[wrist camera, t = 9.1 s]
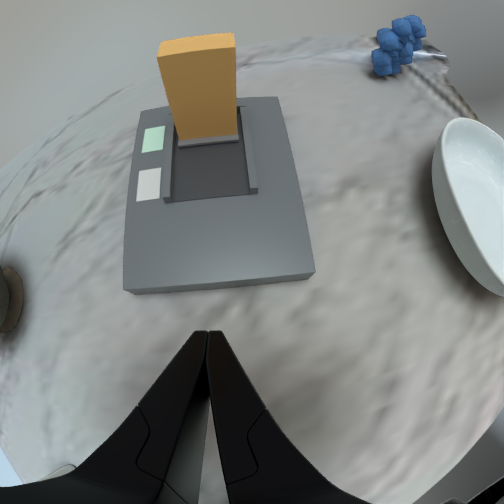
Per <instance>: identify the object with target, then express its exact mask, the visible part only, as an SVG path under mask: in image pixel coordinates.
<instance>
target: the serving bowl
mask: <svg viewBox="0 0 504 504" xmlns="http://www.w3.org/2000/svg"><path fill="white" fill-rule="evenodd" d="M432 183H433V191H434V197H435V202H436V206H437V210H438V213H439V216H440V219H441V222H442V225H443V227H444V230H445V232H446V235H447V237H448V239H449V241H450V243H451V245H452V247H453V249H454V251H455V253H456V254H457V256H458V258H459V259H460V261H461V262H462V264H463V265H464V266H465V268H466V269H467V270H468V271H469V273H470V274H471V275H472V276H473V277H474V278H475V279H476V280H477V281H478V282H479V283H480V284H481V285H482V286H483V287H485V288H486V289H488V290H489V291H491V292H493V293H494V294H497V295H499V296H502V297H504V140H503V139H502V138H501V137H500V136H499V135H498V134H496V133H495V132H494V131H493V130H491V129H490V128H488V127H487V126H485V125H483V124H481V123H480V122H477V121H475V120H472V119H468V118H455V119H452V120H451V121H449V122H448V123H447V124H446V125H445V127H444V128H443V130H442V132H441V134H440V136H439V138H438V141H437V144H436V146H435V150H434V154H433V160H432Z"/></svg>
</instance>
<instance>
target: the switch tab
mask: <svg viewBox="0 0 504 504" xmlns="http://www.w3.org/2000/svg"><path fill="white" fill-rule="evenodd" d="M157 60H158V64H159V68H160V72H161V76H162V80H163V84H164V87H165V91H166V95H167V98H168V102H169V106H170V109H171V113H172V116H173V120H174V123H175V127H176V130H177V134H178V137H179V139H178V147H179V148H183V147H190V146H198V145H207V144H217V143H227V142H239V136H238V127H237V107H236V51H235V41H234V35H233V33H221V34H210V35H201V36H193V37H186V38H180V39H173V40H168V41H163V42H161V45H160V48H159V52H158V55H157Z"/></svg>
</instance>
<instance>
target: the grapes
mask: <svg viewBox="0 0 504 504" xmlns="http://www.w3.org/2000/svg"><path fill="white" fill-rule="evenodd" d="M423 37H426V29H425V26H424V25H423V24H422V21H421V19H420V18H419V17H417V16H415V15H409V16H406V17H404V18H399V19H396V20H393V21H392V29H389V28H382V29H380V30H378V31H377V39H378V41H379V44H380V48H379V49H375V50H373V51H372V55H371V58H372V62H373V64H374V71H375V73H376V74H377V75H379V76H385V75H389V74H390V75H391V74H397V73H400V69H401V65H405V64H410V63H412V56H413V51H417V50H421V49H422V42H421V39H420V38H423ZM400 64H401V65H400Z"/></svg>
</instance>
